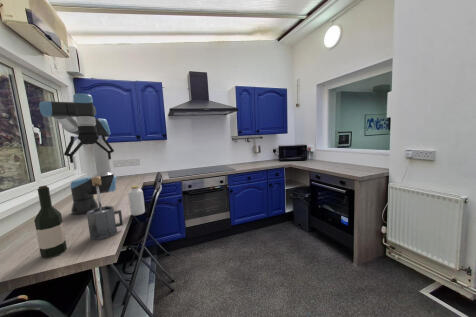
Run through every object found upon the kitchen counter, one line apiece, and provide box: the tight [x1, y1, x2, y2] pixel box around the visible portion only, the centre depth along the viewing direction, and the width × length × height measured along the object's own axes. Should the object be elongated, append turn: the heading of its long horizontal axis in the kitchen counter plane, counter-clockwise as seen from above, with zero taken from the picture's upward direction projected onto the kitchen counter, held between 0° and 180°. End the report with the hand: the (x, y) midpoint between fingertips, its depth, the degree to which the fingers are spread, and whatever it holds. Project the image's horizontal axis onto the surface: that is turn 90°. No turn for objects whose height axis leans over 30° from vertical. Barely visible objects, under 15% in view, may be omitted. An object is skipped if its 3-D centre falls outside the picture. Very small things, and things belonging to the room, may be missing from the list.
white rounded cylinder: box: [127, 185, 146, 216], centre depth 125 cm, size 8×8×18 cm
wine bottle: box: [33, 185, 68, 260], centre depth 84 cm, size 8×8×30 cm
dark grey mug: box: [86, 205, 124, 241], centre depth 100 cm, size 12×14×13 cm
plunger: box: [91, 176, 108, 214], centre depth 98 cm, size 7×7×19 cm
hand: (92, 167), depth 99 cm, fingers open, 13 cm apart
